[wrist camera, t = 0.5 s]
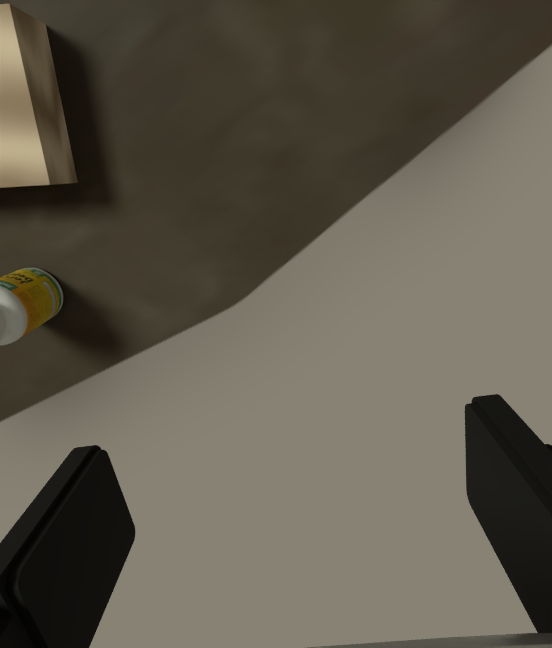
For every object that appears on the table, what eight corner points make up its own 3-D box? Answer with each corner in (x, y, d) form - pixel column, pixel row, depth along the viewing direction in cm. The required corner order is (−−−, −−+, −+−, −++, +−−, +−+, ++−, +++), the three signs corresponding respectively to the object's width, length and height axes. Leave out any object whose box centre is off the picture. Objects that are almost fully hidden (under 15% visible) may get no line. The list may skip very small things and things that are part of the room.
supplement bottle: (21, 321, 43) (-51, 362, 34) (3, 269, 41) (-79, 298, 32) (72, 315, 42) (13, 355, 33) (56, 263, 41) (-11, 290, 32)
